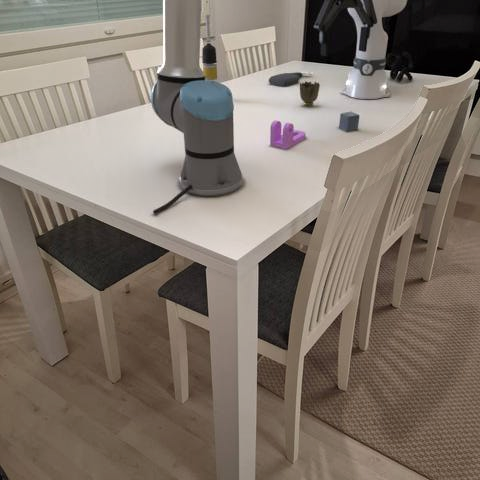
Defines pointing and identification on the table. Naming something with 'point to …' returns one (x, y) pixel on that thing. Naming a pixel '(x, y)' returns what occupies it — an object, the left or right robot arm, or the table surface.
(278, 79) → the spray bottle
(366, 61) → the right robot arm
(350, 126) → the block
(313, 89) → the cup
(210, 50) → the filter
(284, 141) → the bracket
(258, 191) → the table surface
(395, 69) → the squiggle
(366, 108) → the table surface
